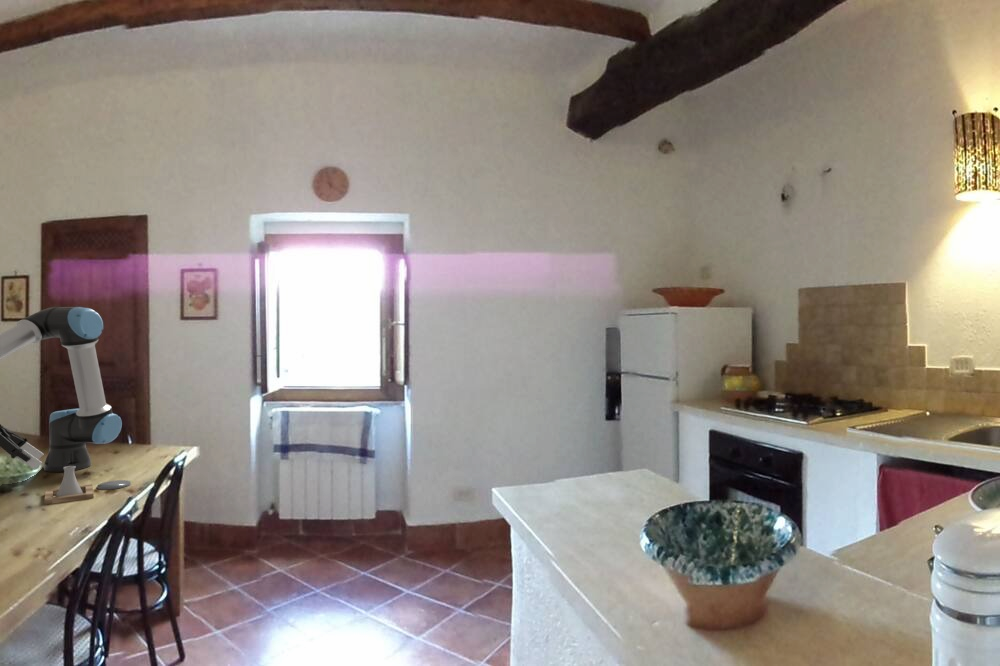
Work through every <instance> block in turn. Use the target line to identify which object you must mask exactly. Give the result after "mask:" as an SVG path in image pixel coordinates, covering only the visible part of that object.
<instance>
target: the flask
mask: <svg viewBox="0 0 1000 666" xmlns="http://www.w3.org/2000/svg"><path fill="white" fill-rule="evenodd" d="M75 468H76V466H67V467H64V468H63V469H64V472H63V473H64V474H63V478H62V481H61V483H60V486H59V487H58V489H59V490H58V492H57V494H56V495H55V497H60V496H68V495H75V494H83V493H84V491H82V490H81V488H80V486H81V485H79V481H78V479H77V478H76V475H75V471H76V470H74V469H75Z"/></svg>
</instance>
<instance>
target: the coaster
mask: <svg viewBox="0 0 1000 666" xmlns="http://www.w3.org/2000/svg"><path fill="white" fill-rule="evenodd" d="M131 485H132V484H131V481H130V480H123V479H119V480H109V481H105V482H102V483H98V484H97V486H96V488H97V490H101V491H107V490H109V491H111V490H118V489H123V488H127V487H129V486H131Z"/></svg>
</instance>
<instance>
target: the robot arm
mask: <svg viewBox="0 0 1000 666" xmlns="http://www.w3.org/2000/svg"><path fill="white" fill-rule="evenodd" d="M103 330H104V321H103V319H102V317H101V315H100V314H99V313H98V312H97V311H95V310H94V309H92V308H89V307H83V306H65V307H64V306H62V307H61V306H55V307H54V306H51V307H48V308H45V309H42V310H40V311H36V312H35V313H31V314H30V315H29V316H25V317H24V318H23V319H21V320H18V321H17V323H16V325H15V326H13V327H11V328H9V329H7V330H5V331H3V332H1V333H0V360H2V359H4V358H6V357H8V356H9V355H12V354H13V353H15V352H17V351H19V350H21V349H22V348H25V347H26V346H28V345H30V344H37V343H40V342H41V341H44V340H48V339H52V338H57V339H60V344H61V346H62V347H63V348H66V349H67V353H68V358H69V362H70V363H69V364H70V368H71V374H72V378H73V382H74V383H73V384H74V387H75V393H76V397H77V401H78V408H71V409H70V408H69V409H63V410H57V411H54V412H51V413H50V415H49V422H48V433H49V435H48V437H49V440H48V441H49V449H48V453H47V455H46V457H45V461H44V462H43V461H41V460H39V459H41V458H42V457H44V455H45V453H43V452H42V451H41V450H39V449H37V448H36V447H35V446H33V445H32V444H30V443H29V442H28V441H29V439H28V438H26V437H25V438H24V437H22V436H20V435H18V434H17V433H14V431H11V430H10V429H9V428H6V427H5V426H3V425H2V424H1V423H0V448H1V449H3V450H4V451H5V452H7V454H9V455H10V458H11V459H13V460H14V459H15V458H17V459H18V460H19V461H21V462H22V463H24V464H25V465H26V466H28V467H30V468H31V469H33V470H36V469H37V468H38V467H39V466H41V465H42V464H43V463H44V464H43V471H44V472H50V473H59V472H60V473H62V472H63V473H64V469H63V468H64V467H67V466H76V468H75V469H74V471H78V470H83V469H87V468H88V467H90V466H92V459H91V456H90V453H89V451H88V449H87V444H96V445H102V444H109V443H111V442H113V441H114V440H115V439H117V437H119V434H120V433H121V431H122V425H123V422H122V421H123V420H122V419H121V417H120V415H118V414H116V413H113V408H112V406H111V404H109V403H107V401H106V395H105V391H104V386H103V381H102V380H103V379H102V376H101V369H100V366H99V360H98V357H97V356H98V355H97V350H96V345H97V343H98V342H99V337H100V336H101V334H102V333H103Z"/></svg>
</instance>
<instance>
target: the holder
mask: <svg viewBox="0 0 1000 666" xmlns="http://www.w3.org/2000/svg"><path fill="white" fill-rule="evenodd" d="M79 486H80V488H81V490H82V492H83V494H75V495H68V496H60V497H56V494H57V492H58V490H59V488H53V489H51V488H50V489H46V490H45V493H44V494H45V495H44V506H46V505H52V504H53V505H54V504H60V503H67V502H68V503H69V502H75V501H76V502H77V501H82V500H83V501H84V500H89V499H90V500H91V499H94V497H95V496H94V495H95V494H94V487H93V484H85V485H83V484H82V485H79ZM84 492H85V493H84Z"/></svg>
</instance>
